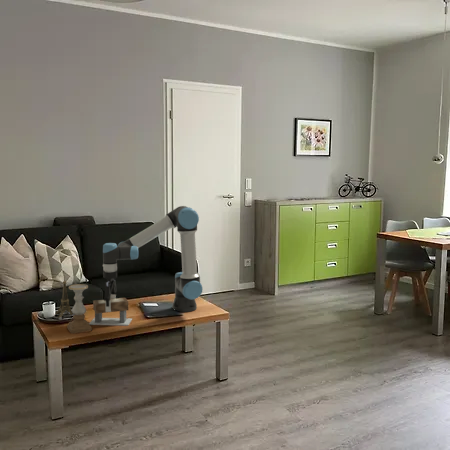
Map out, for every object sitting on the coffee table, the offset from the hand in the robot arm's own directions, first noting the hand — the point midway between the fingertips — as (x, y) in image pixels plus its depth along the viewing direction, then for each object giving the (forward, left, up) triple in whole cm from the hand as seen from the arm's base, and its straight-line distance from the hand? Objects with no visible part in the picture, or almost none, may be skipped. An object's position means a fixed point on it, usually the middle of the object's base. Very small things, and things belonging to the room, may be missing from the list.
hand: (110, 308), depth 287 cm
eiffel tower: (+29, -9, -8) cm, 32 cm away
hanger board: (0, 0, -8) cm, 8 cm away
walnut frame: (0, 0, -1) cm, 1 cm away
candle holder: (+14, +13, -8) cm, 21 cm away
